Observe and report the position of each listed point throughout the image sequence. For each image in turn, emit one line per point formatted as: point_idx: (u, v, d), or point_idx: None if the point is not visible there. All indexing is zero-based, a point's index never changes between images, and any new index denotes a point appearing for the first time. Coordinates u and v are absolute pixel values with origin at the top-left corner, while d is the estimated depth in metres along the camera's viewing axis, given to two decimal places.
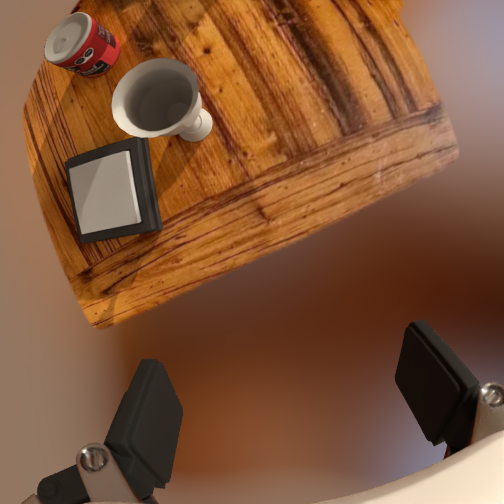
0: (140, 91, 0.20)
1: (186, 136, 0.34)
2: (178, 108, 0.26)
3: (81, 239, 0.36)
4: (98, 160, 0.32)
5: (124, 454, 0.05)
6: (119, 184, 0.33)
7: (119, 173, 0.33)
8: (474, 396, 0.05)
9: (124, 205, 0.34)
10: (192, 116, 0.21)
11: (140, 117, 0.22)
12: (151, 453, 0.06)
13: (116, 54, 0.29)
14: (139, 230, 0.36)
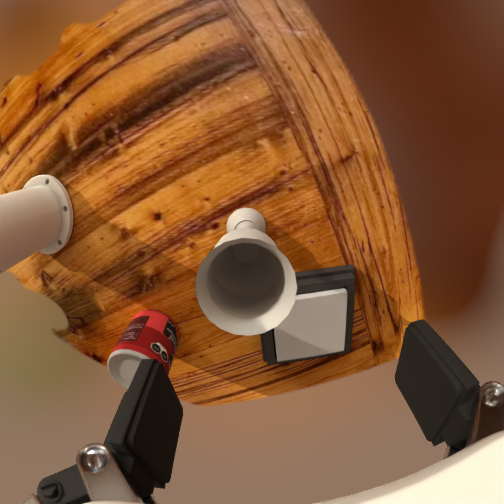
0: (226, 298, 0.22)
1: None
2: (240, 250, 0.27)
3: (347, 350, 0.39)
4: (276, 331, 0.36)
5: (124, 454, 0.05)
6: (305, 309, 0.35)
7: (294, 309, 0.35)
8: (474, 396, 0.05)
9: (327, 305, 0.35)
10: (266, 240, 0.20)
11: (253, 295, 0.24)
12: (151, 453, 0.06)
13: (155, 314, 0.37)
14: (353, 290, 0.35)
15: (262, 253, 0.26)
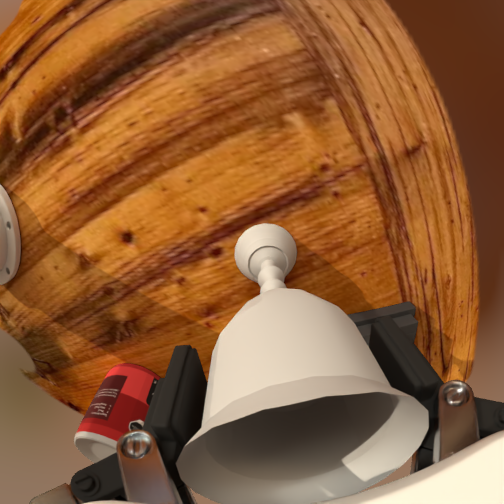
0: (247, 432, 0.09)
1: (289, 269, 0.21)
2: None
3: None
4: None
5: (166, 439, 0.06)
6: None
7: None
8: (437, 394, 0.06)
9: None
10: (354, 337, 0.07)
11: (297, 407, 0.11)
12: (190, 437, 0.07)
13: (135, 373, 0.24)
14: (413, 339, 0.22)
15: None
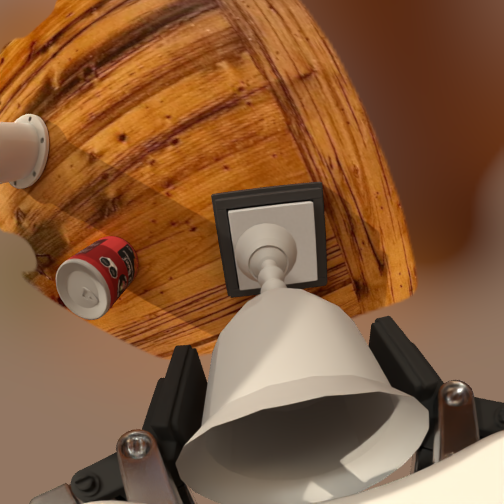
0: (247, 432, 0.09)
1: (290, 269, 0.21)
2: None
3: (322, 283, 0.36)
4: (235, 248, 0.33)
5: (166, 439, 0.06)
6: (266, 222, 0.32)
7: (253, 221, 0.32)
8: (437, 394, 0.06)
9: (291, 217, 0.32)
10: (355, 337, 0.07)
11: (297, 407, 0.11)
12: (190, 437, 0.07)
13: (114, 238, 0.35)
14: (321, 204, 0.33)
15: None
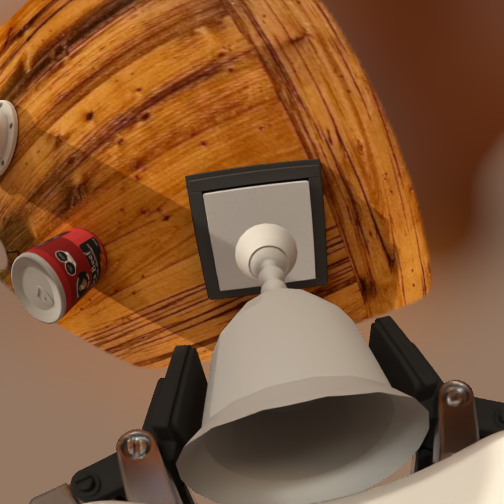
0: (247, 432, 0.09)
1: (290, 269, 0.21)
2: None
3: (322, 282, 0.30)
4: (212, 239, 0.27)
5: (166, 439, 0.06)
6: (250, 206, 0.26)
7: (234, 205, 0.26)
8: (436, 394, 0.06)
9: (282, 200, 0.26)
10: (355, 337, 0.07)
11: (297, 407, 0.11)
12: (190, 437, 0.07)
13: (79, 230, 0.28)
14: (318, 184, 0.26)
15: None
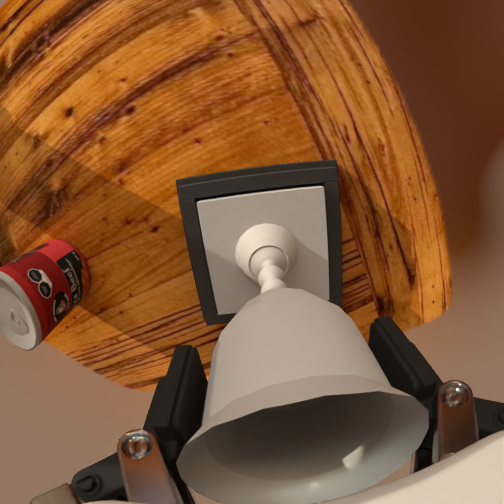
0: (247, 431, 0.09)
1: (290, 269, 0.21)
2: None
3: None
4: (208, 256, 0.22)
5: (167, 438, 0.06)
6: (254, 216, 0.21)
7: (235, 215, 0.21)
8: (436, 394, 0.06)
9: (291, 209, 0.21)
10: (354, 337, 0.07)
11: (297, 406, 0.11)
12: (191, 437, 0.07)
13: (58, 242, 0.24)
14: (336, 191, 0.21)
15: None
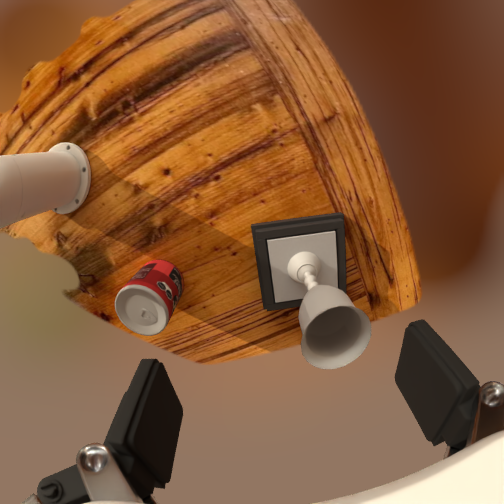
0: (311, 340, 0.27)
1: None
2: None
3: None
4: (272, 269, 0.40)
5: (124, 454, 0.05)
6: (298, 248, 0.39)
7: (288, 247, 0.39)
8: (474, 396, 0.05)
9: (318, 244, 0.39)
10: (347, 299, 0.25)
11: (327, 334, 0.29)
12: (151, 453, 0.06)
13: (162, 262, 0.42)
14: (343, 233, 0.39)
15: None
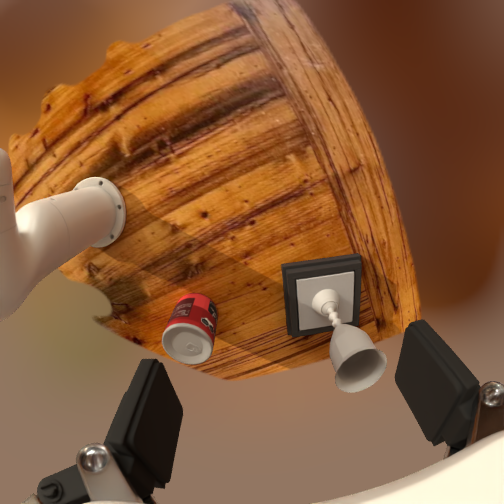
0: (338, 370, 0.33)
1: None
2: None
3: (356, 324, 0.48)
4: (299, 304, 0.46)
5: (124, 454, 0.05)
6: (322, 286, 0.45)
7: (313, 286, 0.45)
8: (474, 396, 0.05)
9: (339, 282, 0.45)
10: (369, 339, 0.31)
11: (350, 363, 0.34)
12: (151, 453, 0.06)
13: (199, 296, 0.47)
14: (360, 273, 0.44)
15: None
